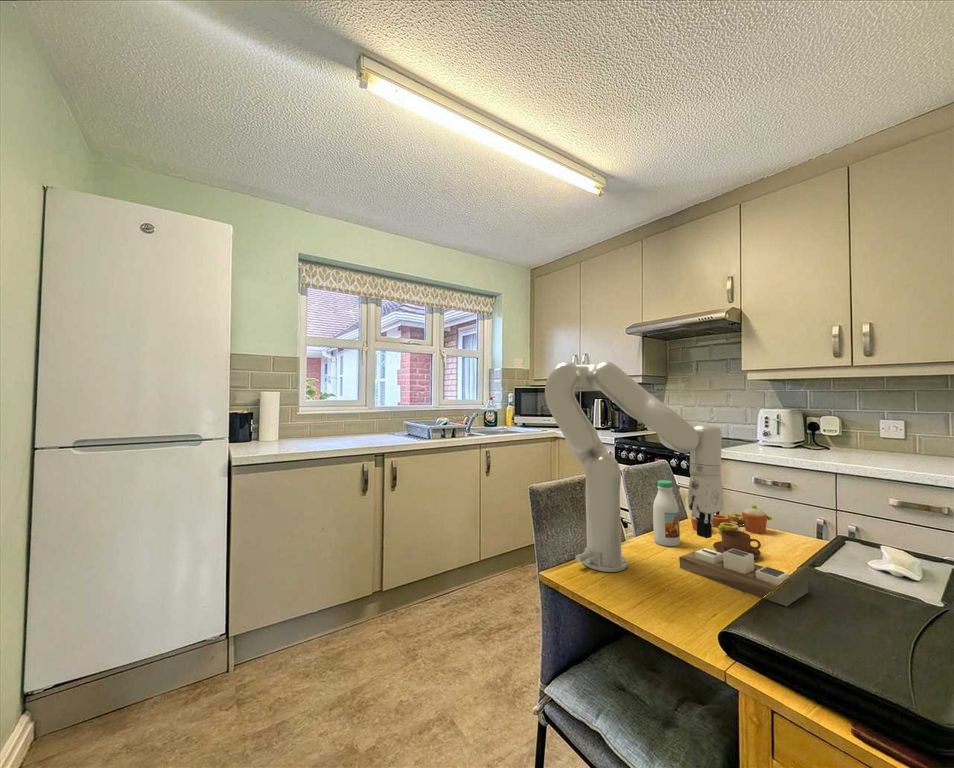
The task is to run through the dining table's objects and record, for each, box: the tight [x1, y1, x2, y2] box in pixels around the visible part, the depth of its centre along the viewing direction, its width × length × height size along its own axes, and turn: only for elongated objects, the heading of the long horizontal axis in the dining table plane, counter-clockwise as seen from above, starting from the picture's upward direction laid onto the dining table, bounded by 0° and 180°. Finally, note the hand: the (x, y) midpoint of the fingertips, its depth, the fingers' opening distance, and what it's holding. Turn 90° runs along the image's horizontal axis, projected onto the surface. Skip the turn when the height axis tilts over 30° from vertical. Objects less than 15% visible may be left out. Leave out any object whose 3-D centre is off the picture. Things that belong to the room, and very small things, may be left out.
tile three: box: [756, 566, 790, 585], centre depth 96 cm, size 5×5×4 cm
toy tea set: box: [690, 504, 773, 536], centre depth 141 cm, size 26×16×10 cm, turn 108°
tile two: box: [723, 549, 755, 575], centre depth 103 cm, size 5×5×4 cm
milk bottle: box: [652, 479, 681, 547], centre depth 130 cm, size 8×8×20 cm
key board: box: [678, 547, 791, 599], centre depth 103 cm, size 12×25×3 cm, turn 32°
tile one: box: [695, 547, 723, 564], centre depth 109 cm, size 5×5×4 cm
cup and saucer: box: [712, 530, 762, 559], centre depth 119 cm, size 12×12×6 cm
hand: (704, 536), depth 109 cm, fingers closed
